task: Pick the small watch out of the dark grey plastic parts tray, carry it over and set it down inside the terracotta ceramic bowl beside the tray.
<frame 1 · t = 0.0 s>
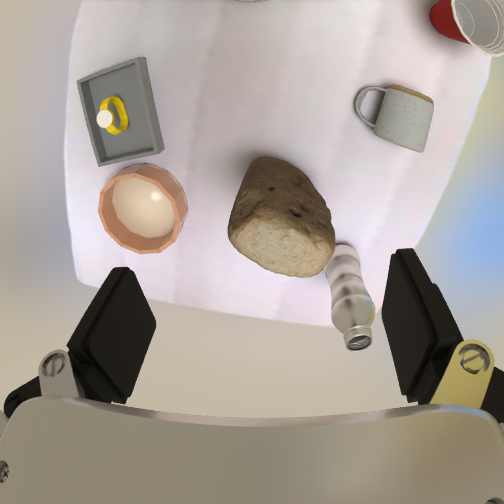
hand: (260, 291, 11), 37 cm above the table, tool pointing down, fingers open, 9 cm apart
plastic bottle: (339, 254, 54), on the table
bowl: (147, 203, 51), on the table
ceramic mug: (387, 111, 39), on the table
plastic cup: (444, 21, 28), on the table
watch: (122, 111, 41), resting in parts tray
parts tray: (122, 111, 41), on the table
stone: (281, 178, 47), on the table
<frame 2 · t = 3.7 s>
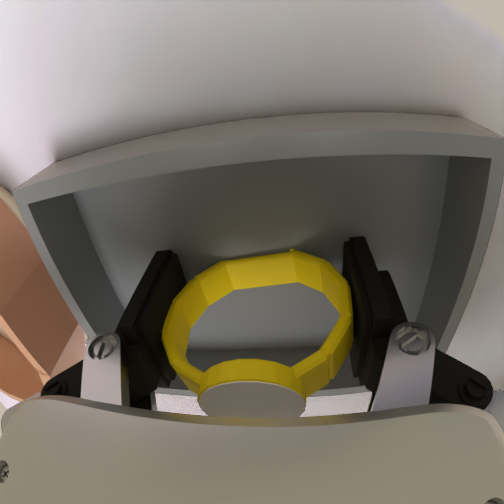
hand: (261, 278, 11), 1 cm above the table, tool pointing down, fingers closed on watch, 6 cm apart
bowl: (0, 277, 14), on the table
watch: (262, 265, 12), resting in parts tray, touching gripper
parts tray: (262, 265, 12), on the table
when the fingers open (4 cm above the table, at t = 9.3 s): watch drops 3 cm, resting on bowl.
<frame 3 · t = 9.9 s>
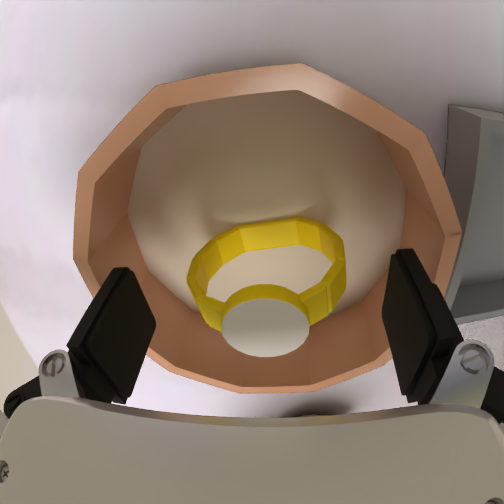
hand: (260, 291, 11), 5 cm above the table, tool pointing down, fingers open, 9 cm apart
bowl: (266, 223, 15), on the table
watch: (269, 231, 14), point 1 cm above the table, touching bowl
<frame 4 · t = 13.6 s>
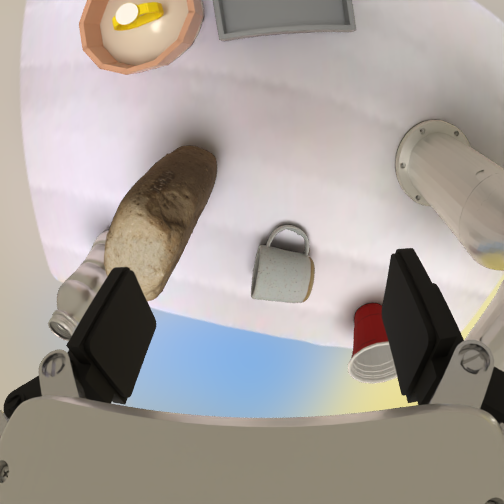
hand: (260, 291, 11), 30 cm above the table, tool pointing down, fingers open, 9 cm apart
plastic bottle: (119, 241, 48), on the table
bowl: (147, 19, 28), on the table
ceramic mug: (282, 252, 47), on the table
plastic cup: (368, 312, 53), on the table
watch: (147, 18, 28), point 1 cm above the table, touching bowl
stone: (190, 177, 41), on the table
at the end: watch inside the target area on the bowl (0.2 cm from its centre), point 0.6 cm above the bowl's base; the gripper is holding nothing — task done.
